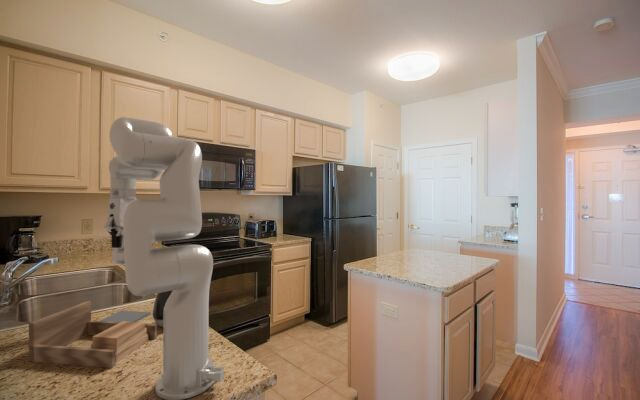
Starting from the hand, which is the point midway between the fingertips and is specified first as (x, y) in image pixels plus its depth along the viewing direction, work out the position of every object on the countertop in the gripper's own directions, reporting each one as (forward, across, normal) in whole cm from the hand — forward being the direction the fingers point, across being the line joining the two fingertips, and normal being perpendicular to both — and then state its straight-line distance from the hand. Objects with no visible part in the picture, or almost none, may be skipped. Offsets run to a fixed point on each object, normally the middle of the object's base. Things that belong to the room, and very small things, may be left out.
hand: (123, 245), depth 107 cm
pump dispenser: (+26, -2, -19) cm, 32 cm away
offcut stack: (+26, -20, -16) cm, 36 cm away
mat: (+26, 0, 0) cm, 26 cm away
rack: (+26, -20, -9) cm, 34 cm away
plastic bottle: (+7, 0, 0) cm, 7 cm away
